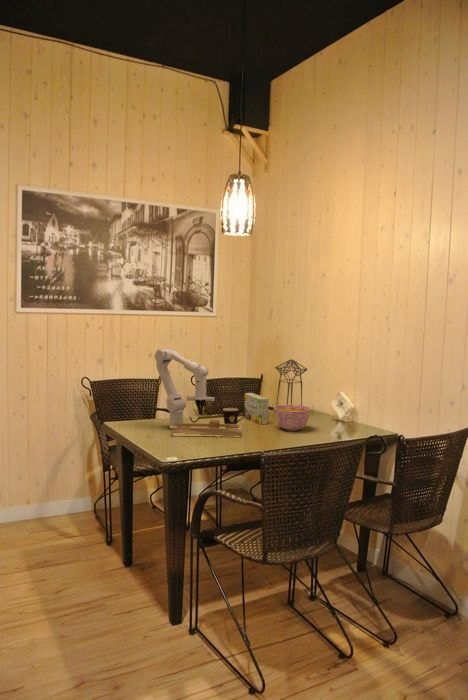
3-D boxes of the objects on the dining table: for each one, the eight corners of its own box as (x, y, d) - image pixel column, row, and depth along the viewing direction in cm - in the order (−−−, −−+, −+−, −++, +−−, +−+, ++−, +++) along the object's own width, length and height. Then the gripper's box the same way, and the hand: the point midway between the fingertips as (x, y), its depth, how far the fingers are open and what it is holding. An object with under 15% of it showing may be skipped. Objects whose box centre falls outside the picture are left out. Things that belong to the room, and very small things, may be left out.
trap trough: (174, 431, 294) (174, 423, 294) (241, 432, 294) (241, 424, 293) (171, 436, 283) (171, 427, 283) (241, 437, 283) (241, 428, 282)
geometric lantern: (288, 412, 348) (291, 357, 345) (307, 417, 336) (309, 360, 333) (270, 415, 338) (272, 358, 335) (288, 420, 326) (291, 361, 323)
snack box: (243, 418, 331) (244, 393, 330) (252, 417, 334) (252, 392, 333) (260, 425, 312) (260, 398, 311) (268, 424, 315) (269, 398, 313)
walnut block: (209, 427, 291) (209, 420, 290) (219, 427, 291) (219, 420, 290) (209, 429, 286) (209, 422, 285) (218, 430, 286) (219, 422, 285)
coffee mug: (221, 428, 303) (221, 410, 302) (225, 425, 311) (225, 407, 310) (241, 429, 300) (241, 411, 299) (245, 426, 308) (245, 408, 307)
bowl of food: (267, 430, 299) (267, 409, 298) (281, 423, 316) (282, 403, 315) (302, 435, 289) (302, 413, 288) (315, 427, 307) (315, 407, 306)
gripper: (186, 389, 289) (185, 415, 290) (213, 390, 288) (213, 416, 290) (187, 387, 296) (187, 412, 297) (214, 388, 295) (214, 413, 297)
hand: (200, 414), depth 294 cm, fingers closed
